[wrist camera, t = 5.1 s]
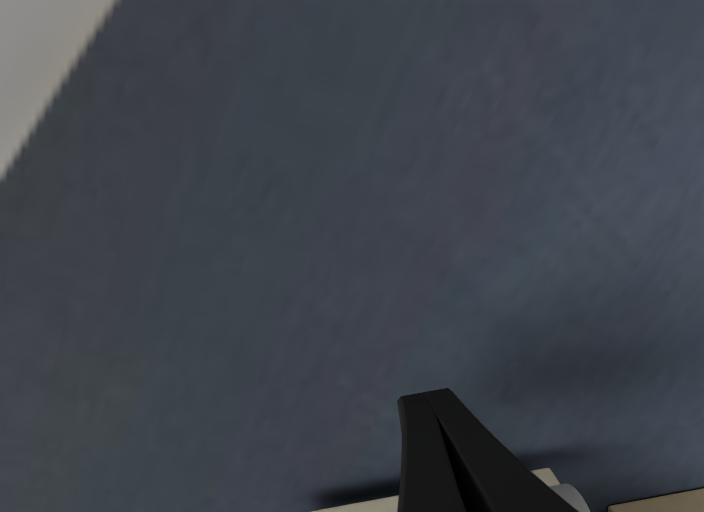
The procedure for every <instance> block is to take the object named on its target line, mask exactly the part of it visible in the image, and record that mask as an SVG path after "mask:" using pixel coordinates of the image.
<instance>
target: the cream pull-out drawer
mask: <svg viewBox="0 0 704 512" xmlns="http://www.w3.org/2000/svg"><path fill="white" fill-rule="evenodd" d="M532 472H533V473H534V474H535V475H536V476H537V477H538V478H540V479H541V480H542V481H543V482H544V483H545V484H546V485H548V486H549V487H550V488H551V489H552V490H553V491H555V492H556V493H557V494H558V495H559V496H561V497H562V498H563V499H564V500H565V501H567V502H568V503H569V504H570V505H572V506H573V507H574V508H575V509H577V510H578V511H579V512H590V510H589V508H588V506H587V504H586V502H585V501H584V499H583V497H582V496H581V495H580V493H579V492H578V491H577V490H576V489H575V488H574V487H573V486H572V485H570V484H566V483H565V484H560V483H559V481H558V480H557V478H556V477H555V475H554V474H553V472H552V471H551V469H550V468H543V469H538V470H532ZM398 498H399V495H397V496H391V497H386V498H381V499H375V500H370V501H364V502H359V503H353V504H348V505H343V506H337V507H332V508H326V509H321V510H316V511H310V512H397V508H398Z"/></svg>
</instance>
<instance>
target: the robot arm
mask: <svg viewBox="0 0 704 512" xmlns="http://www.w3.org/2000/svg"><path fill="white" fill-rule="evenodd" d="M397 402H398V409H399V417H400V424H401V431H402V460H401V479H400V488H399V498H398V508H397V512H579V511H578V510H577V509H575V508H574V507H573V506H572V505H570V504H569V503H568V502H567V501H565V500H564V499H563V498H562V497H561V496H559V495H558V494H557V493H556V492H555V491H553V490H552V489H551V488H550V487H549V486H548V485H546V484H545V483H544V482H543V481H542V480H541V479H540V478H538V477H537V476H536V475H535V474H534V473H533V472H532V471H530V470H529V469H528V468H527V467H526V466H525V465H524V464H523V463H522V462H520V461H519V460H518V459H517V458H516V457H515V456H514V455H513V454H512V453H511V452H510V451H509V450H508V449H507V448H506V447H505V446H504V445H503V444H501V443H500V442H499V441H498V440H497V439H496V438H495V437H494V436H493V435H492V434H491V433H490V432H489V431H488V430H487V429H486V428H485V427H484V426H483V425H482V424H481V423H480V422H479V421H478V419H477V418H476V417H475V416H474V415H473V414H472V413H471V412H470V411H469V410H468V409H467V408H466V407H465V406H464V404H463V403H462V402H461V401H460V400H459V399H458V398H457V396H456V395H455V394H454V393H453V392H452V391H451V390H450V389H448V388H445V389H439V390H434V391H428V392H423V393H417V394H412V395H406V396H401V397H400V398H399V399H398V401H397Z"/></svg>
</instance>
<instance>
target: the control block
mask: <svg viewBox="0 0 704 512" xmlns="http://www.w3.org/2000/svg"><path fill="white" fill-rule="evenodd" d="M608 512H704V488H703V489H697V490H692V491H687V492H681V493H676V494H671V495H665V496H660V497H655V498H649V499H644V500H639V501H633V502H628V503H623V504H617V505H612V506H609V507H608Z"/></svg>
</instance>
